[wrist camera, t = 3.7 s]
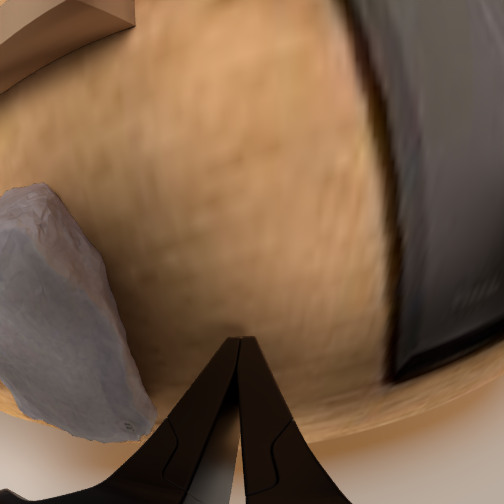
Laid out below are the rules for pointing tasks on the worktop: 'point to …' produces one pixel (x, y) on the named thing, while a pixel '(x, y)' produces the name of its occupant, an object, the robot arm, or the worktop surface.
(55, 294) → the stone block
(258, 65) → the worktop surface
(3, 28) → the corner walls
